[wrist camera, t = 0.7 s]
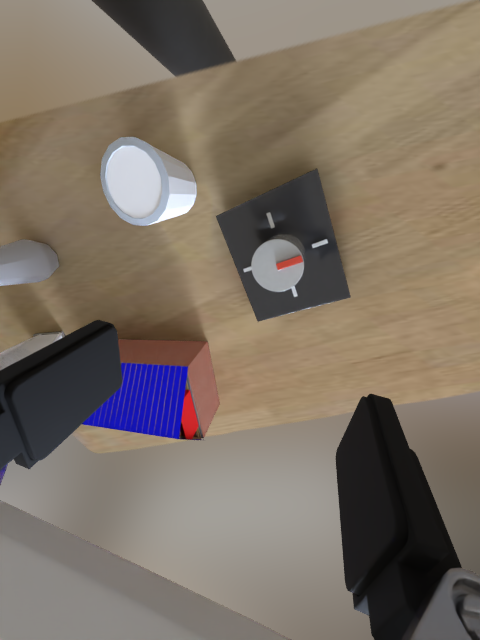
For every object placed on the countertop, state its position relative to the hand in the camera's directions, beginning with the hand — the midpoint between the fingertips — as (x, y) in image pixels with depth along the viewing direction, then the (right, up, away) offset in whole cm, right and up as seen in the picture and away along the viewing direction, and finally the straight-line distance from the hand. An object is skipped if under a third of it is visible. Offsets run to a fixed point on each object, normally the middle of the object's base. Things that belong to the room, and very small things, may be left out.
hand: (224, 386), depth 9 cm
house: (-13, -6, +31) cm, 34 cm away
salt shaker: (-28, +12, +27) cm, 41 cm away
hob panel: (+6, +10, +18) cm, 21 cm away
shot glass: (-7, +17, +19) cm, 26 cm away
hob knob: (+5, +9, +15) cm, 18 cm away
